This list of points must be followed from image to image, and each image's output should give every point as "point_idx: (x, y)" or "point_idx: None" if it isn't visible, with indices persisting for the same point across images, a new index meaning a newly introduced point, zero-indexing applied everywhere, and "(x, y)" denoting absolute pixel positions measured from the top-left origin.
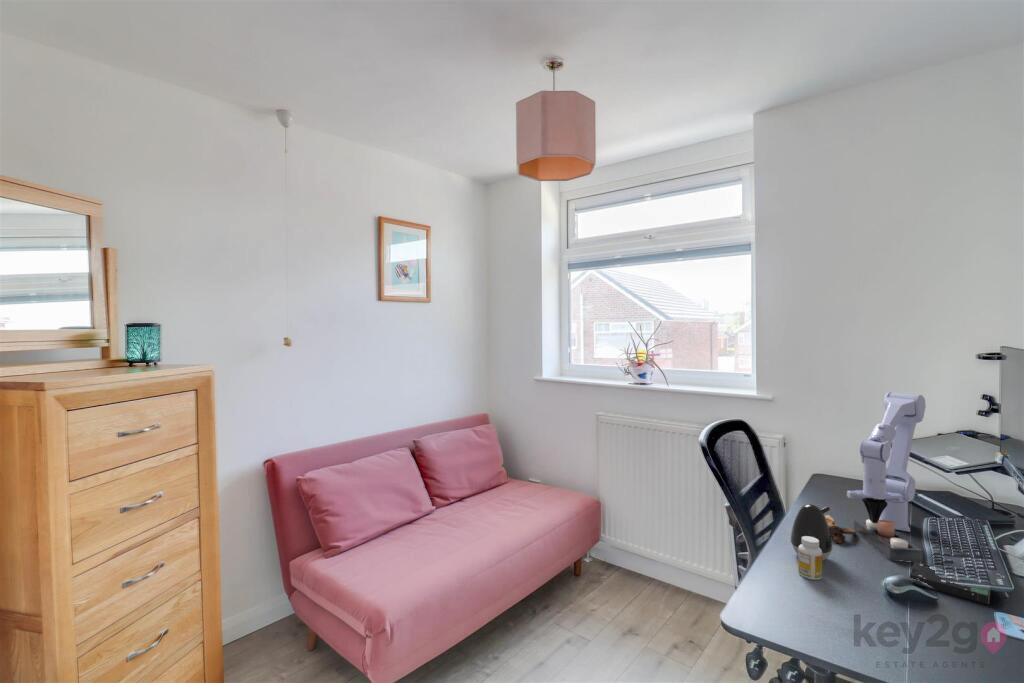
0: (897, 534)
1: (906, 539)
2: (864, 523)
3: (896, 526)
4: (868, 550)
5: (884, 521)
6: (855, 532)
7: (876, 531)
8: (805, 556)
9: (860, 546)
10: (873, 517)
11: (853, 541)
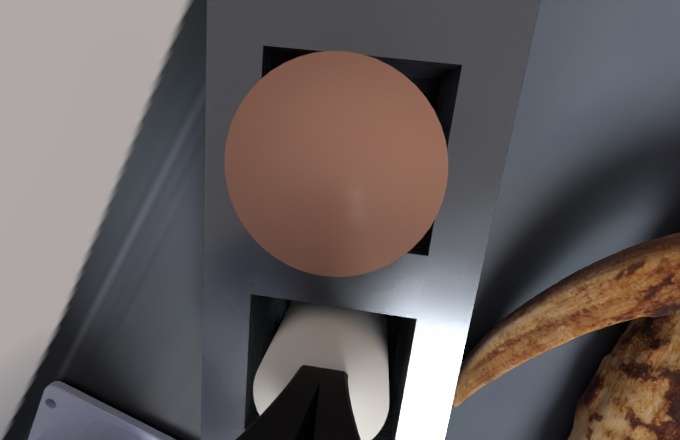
0: None
1: (217, 9)
2: None
3: (107, 433)
4: (587, 22)
5: (336, 208)
6: (516, 311)
7: None
8: None
9: (598, 107)
10: (348, 407)
11: (583, 210)
